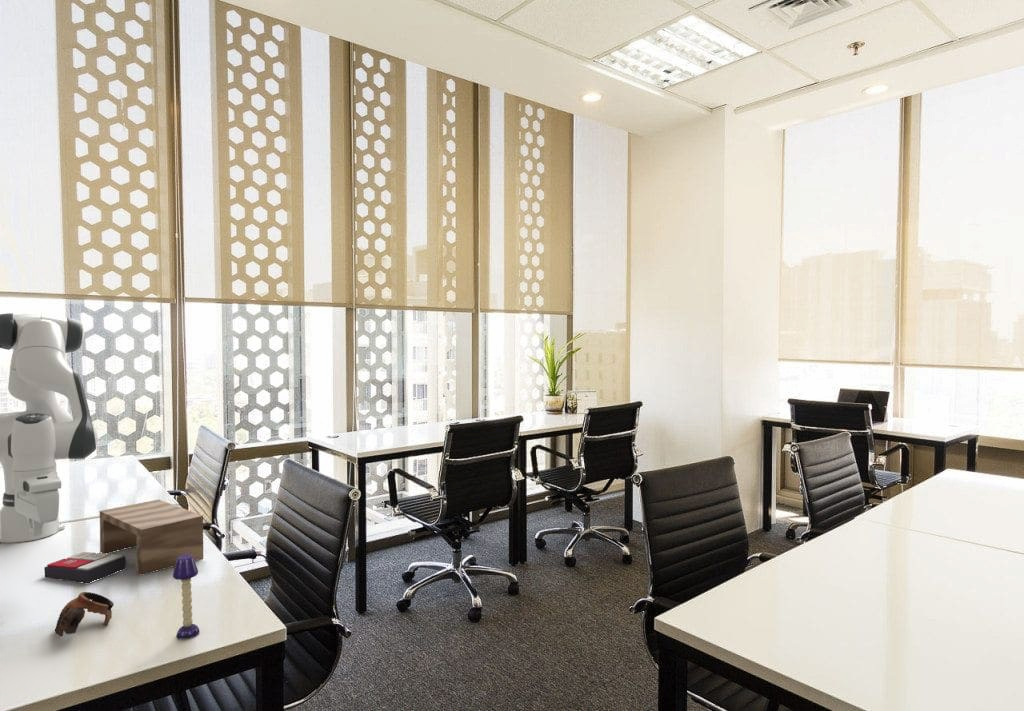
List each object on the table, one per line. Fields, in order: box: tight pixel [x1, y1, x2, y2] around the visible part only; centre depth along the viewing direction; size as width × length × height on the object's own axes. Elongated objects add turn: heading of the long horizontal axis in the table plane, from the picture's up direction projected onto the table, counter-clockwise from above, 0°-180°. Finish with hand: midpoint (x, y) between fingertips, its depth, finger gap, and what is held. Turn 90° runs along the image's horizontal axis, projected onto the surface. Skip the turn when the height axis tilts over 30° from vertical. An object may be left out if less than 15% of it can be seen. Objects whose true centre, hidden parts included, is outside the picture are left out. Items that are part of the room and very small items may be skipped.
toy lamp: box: [172, 554, 201, 640], centre depth 128 cm, size 5×5×17 cm
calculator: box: [43, 551, 127, 584], centre depth 161 cm, size 11×4×15 cm
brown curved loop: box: [54, 591, 115, 638], centre depth 130 cm, size 12×10×8 cm
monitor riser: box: [99, 499, 204, 576], centre depth 174 cm, size 28×16×12 cm, turn 53°
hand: (36, 534), depth 153 cm, fingers closed
